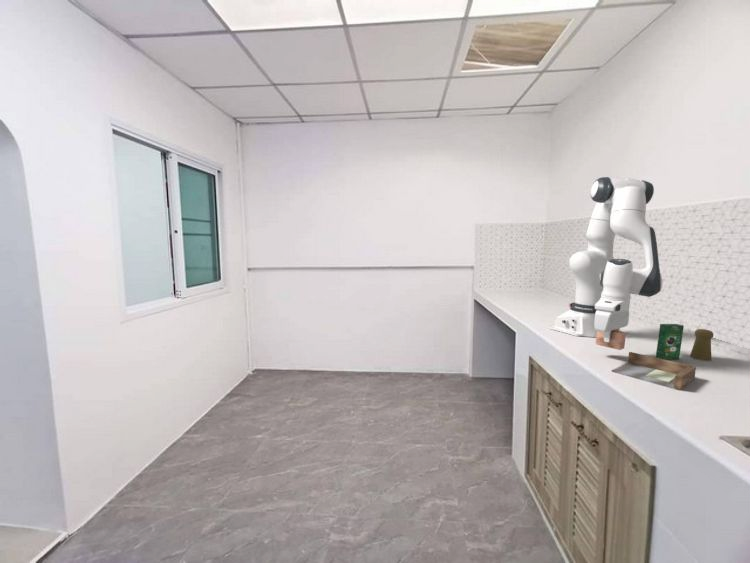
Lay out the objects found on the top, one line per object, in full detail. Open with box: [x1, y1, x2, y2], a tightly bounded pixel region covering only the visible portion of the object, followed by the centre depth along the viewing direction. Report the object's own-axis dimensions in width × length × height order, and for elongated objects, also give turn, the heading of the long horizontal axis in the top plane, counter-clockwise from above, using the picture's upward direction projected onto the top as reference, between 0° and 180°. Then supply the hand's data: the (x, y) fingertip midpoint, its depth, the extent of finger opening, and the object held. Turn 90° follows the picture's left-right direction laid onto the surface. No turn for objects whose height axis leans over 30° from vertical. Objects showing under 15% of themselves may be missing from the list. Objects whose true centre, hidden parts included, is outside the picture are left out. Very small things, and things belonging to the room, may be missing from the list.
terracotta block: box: [595, 330, 627, 351], centre depth 130 cm, size 8×4×6 cm, turn 35°
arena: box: [611, 351, 697, 391], centre depth 115 cm, size 18×16×4 cm
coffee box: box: [655, 323, 685, 360], centre depth 132 cm, size 8×3×13 cm, turn 101°
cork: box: [689, 328, 714, 362], centre depth 133 cm, size 6×6×11 cm
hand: (610, 340), depth 130 cm, fingers closed on terracotta block, 4 cm apart
